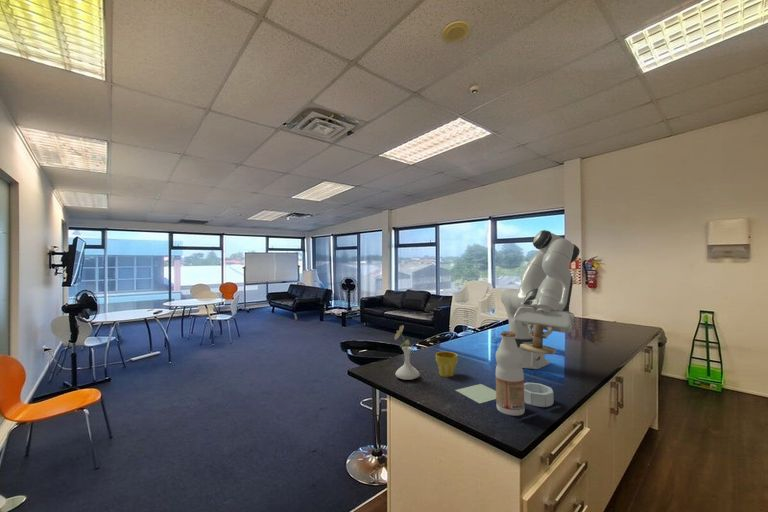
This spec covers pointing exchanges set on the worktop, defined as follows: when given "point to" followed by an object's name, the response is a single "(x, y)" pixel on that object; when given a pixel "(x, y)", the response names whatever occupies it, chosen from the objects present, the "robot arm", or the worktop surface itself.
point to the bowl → (538, 394)
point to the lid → (537, 342)
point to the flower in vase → (406, 360)
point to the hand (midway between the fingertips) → (537, 336)
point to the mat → (478, 393)
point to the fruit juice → (509, 376)
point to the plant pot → (446, 363)
